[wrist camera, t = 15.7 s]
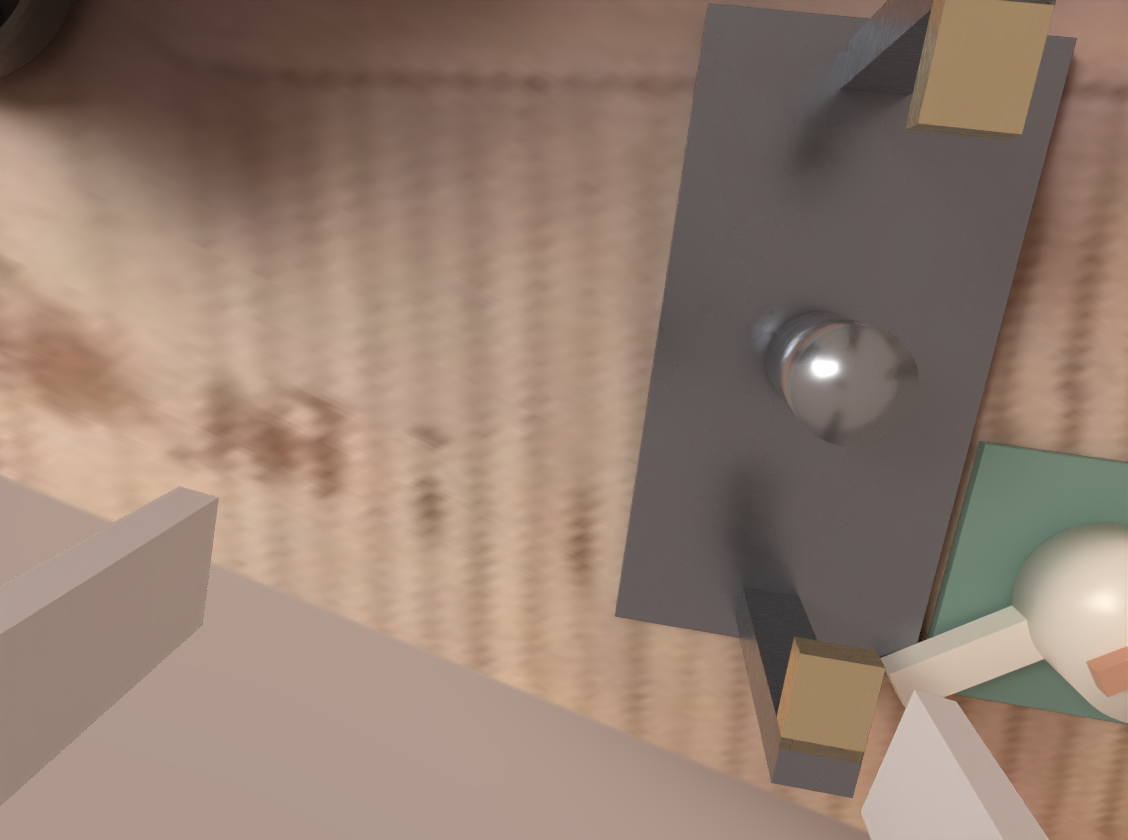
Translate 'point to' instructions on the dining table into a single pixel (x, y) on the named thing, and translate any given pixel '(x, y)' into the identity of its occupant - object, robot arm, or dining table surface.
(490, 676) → the dining table surface
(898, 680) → the cream crossbar with hub
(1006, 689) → the mat
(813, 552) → the grey frame
